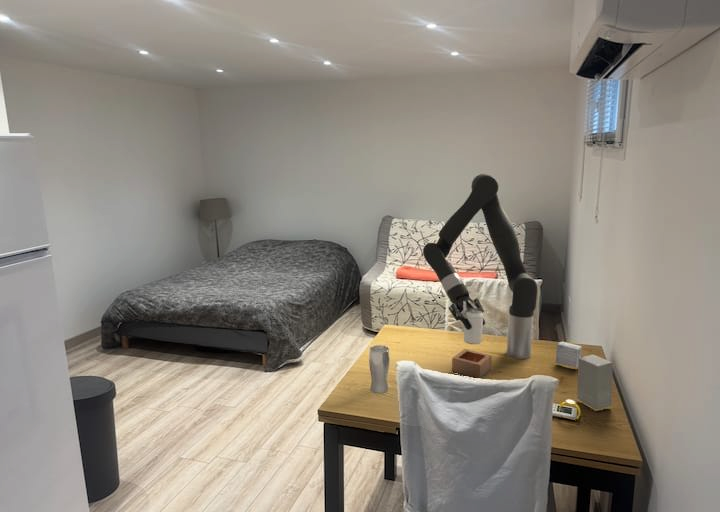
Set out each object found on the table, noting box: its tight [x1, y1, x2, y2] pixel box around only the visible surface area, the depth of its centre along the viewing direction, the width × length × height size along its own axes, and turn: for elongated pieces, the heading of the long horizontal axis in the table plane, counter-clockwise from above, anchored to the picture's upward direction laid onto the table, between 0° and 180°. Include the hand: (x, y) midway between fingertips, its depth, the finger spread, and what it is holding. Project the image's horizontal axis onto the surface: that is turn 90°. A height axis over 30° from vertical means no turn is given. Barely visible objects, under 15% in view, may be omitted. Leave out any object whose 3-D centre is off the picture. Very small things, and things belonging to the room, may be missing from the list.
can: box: [463, 308, 484, 345], centre depth 183 cm, size 6×6×12 cm
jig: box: [451, 348, 493, 379], centre depth 186 cm, size 11×11×6 cm
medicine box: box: [555, 341, 583, 367], centre depth 190 cm, size 8×4×9 cm, turn 47°
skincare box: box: [577, 354, 614, 409], centre depth 160 cm, size 8×7×16 cm
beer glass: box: [368, 344, 391, 395], centre depth 171 cm, size 7×7×15 cm
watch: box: [558, 398, 581, 420], centre depth 153 cm, size 6×3×6 cm, turn 62°
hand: (476, 326), depth 182 cm, fingers closed on can, 6 cm apart
